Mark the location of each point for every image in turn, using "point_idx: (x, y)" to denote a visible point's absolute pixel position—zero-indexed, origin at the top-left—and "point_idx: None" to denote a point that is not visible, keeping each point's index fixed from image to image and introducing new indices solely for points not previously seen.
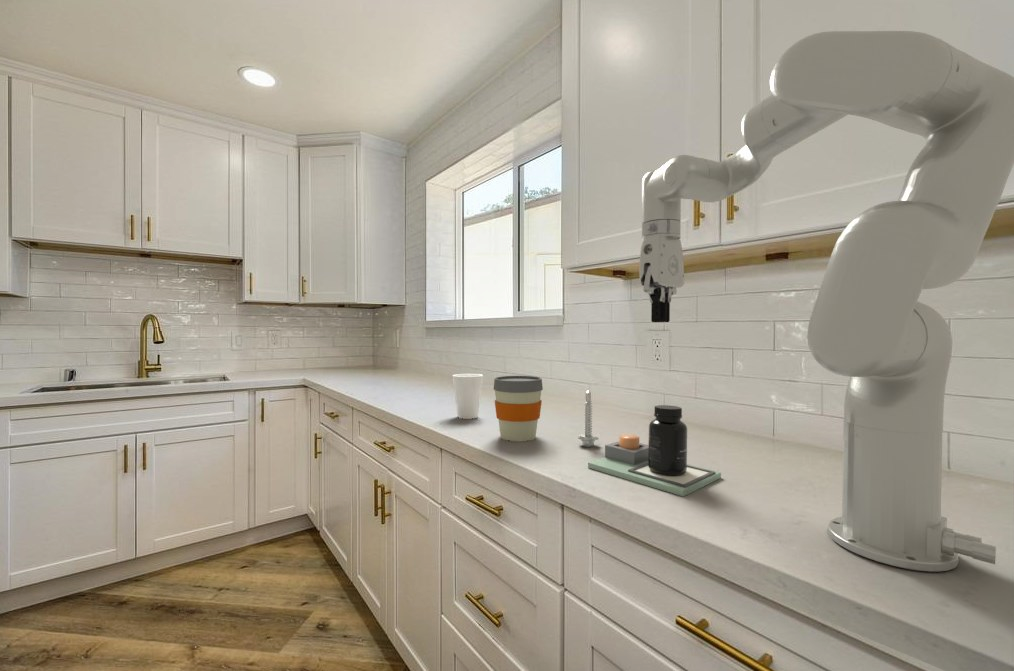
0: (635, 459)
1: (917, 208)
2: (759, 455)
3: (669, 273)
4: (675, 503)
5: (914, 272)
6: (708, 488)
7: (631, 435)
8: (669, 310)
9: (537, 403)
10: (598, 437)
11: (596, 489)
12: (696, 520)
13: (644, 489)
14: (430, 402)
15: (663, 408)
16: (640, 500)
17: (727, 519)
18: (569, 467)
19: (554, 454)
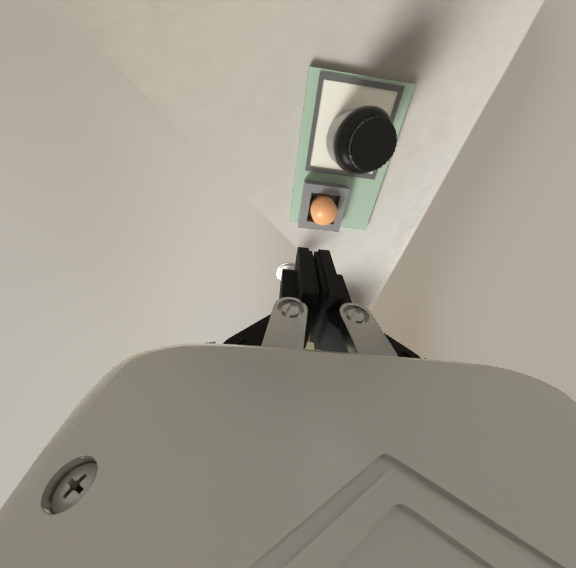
0: (345, 186)
1: None
2: (142, 50)
3: (502, 499)
4: (439, 83)
5: None
6: (364, 66)
7: (315, 214)
8: (301, 269)
9: (309, 339)
10: (283, 264)
11: (428, 184)
12: (489, 30)
13: (406, 140)
14: None
15: (394, 145)
16: (444, 126)
17: None
18: (373, 241)
19: (340, 274)
